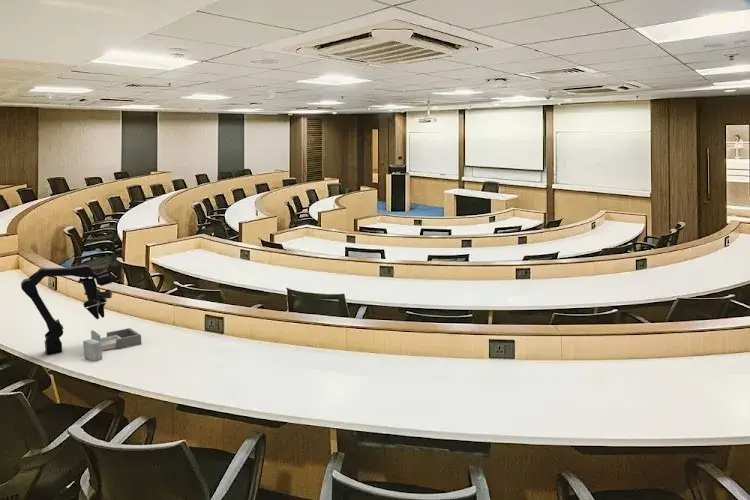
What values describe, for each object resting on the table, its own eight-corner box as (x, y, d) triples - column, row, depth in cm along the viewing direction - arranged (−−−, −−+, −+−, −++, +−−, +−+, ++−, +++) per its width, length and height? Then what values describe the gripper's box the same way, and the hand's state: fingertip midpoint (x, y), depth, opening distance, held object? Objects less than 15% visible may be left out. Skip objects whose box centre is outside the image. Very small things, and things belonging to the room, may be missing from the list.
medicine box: (102, 358, 267) (101, 341, 266) (93, 361, 264) (92, 344, 262) (93, 355, 271) (91, 338, 270) (84, 358, 268) (82, 341, 266)
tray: (99, 351, 276) (98, 336, 275) (91, 345, 286) (90, 330, 284) (125, 345, 285) (124, 330, 283) (117, 339, 294) (115, 325, 293)
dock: (117, 349, 280) (116, 339, 280) (107, 341, 292) (106, 332, 291) (141, 344, 288) (140, 334, 288) (130, 336, 300) (130, 327, 299)
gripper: (102, 284, 274) (112, 314, 274) (112, 283, 292) (121, 311, 292) (78, 291, 271) (88, 322, 272) (90, 290, 290) (99, 318, 290)
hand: (100, 318), depth 282 cm, fingers open, 9 cm apart
